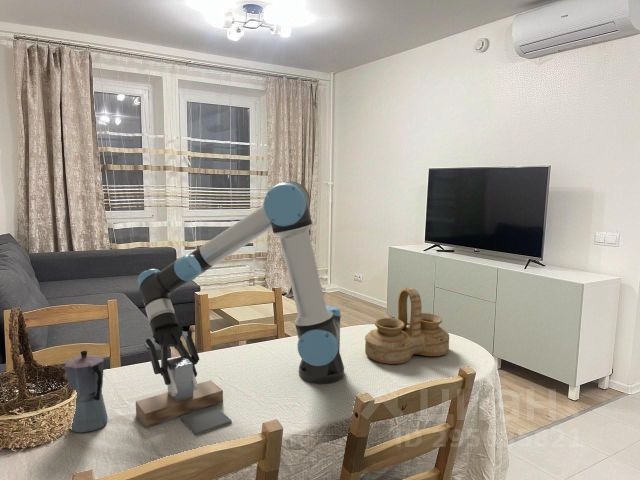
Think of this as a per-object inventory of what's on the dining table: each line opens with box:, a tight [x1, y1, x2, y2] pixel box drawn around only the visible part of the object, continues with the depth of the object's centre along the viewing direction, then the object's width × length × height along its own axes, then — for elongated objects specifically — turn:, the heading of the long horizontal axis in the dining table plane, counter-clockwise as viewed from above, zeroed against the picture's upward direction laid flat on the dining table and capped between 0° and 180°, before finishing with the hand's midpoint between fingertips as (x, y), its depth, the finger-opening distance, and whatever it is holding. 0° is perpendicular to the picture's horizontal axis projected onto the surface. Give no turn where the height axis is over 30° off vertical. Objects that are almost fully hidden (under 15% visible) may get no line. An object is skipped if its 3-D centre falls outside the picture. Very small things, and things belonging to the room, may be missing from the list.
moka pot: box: [64, 350, 109, 433], centre depth 121 cm, size 10×15×20 cm, turn 54°
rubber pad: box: [180, 405, 233, 436], centre depth 125 cm, size 10×10×1 cm
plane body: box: [135, 379, 224, 429], centre depth 131 cm, size 22×8×4 cm, turn 128°
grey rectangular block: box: [167, 356, 193, 402], centre depth 130 cm, size 6×5×10 cm
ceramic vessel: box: [364, 287, 450, 365], centre depth 173 cm, size 34×18×25 cm, turn 116°
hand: (185, 391), depth 127 cm, fingers closed on grey rectangular block, 5 cm apart
